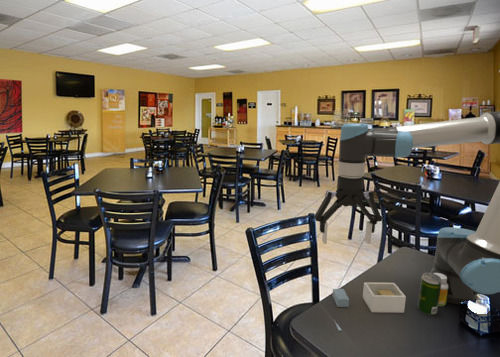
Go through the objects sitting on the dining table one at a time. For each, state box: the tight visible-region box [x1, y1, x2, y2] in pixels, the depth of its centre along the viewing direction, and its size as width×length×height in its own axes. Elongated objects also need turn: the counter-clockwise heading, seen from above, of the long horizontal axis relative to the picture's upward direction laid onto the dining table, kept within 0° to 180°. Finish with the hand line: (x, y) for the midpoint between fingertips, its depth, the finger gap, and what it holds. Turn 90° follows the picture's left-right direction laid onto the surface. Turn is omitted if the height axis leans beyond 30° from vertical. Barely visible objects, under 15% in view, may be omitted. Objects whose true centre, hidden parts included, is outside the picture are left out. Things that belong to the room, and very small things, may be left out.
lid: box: [332, 288, 350, 332], centre depth 97 cm, size 17×9×4 cm, turn 0°
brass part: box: [377, 289, 396, 296], centre depth 100 cm, size 4×4×4 cm
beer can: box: [417, 272, 441, 316], centre depth 97 cm, size 5×5×12 cm
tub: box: [362, 282, 407, 314], centre depth 100 cm, size 10×8×6 cm
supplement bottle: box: [434, 273, 448, 307], centre depth 102 cm, size 5×5×10 cm
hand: (345, 242), depth 98 cm, fingers open, 13 cm apart
